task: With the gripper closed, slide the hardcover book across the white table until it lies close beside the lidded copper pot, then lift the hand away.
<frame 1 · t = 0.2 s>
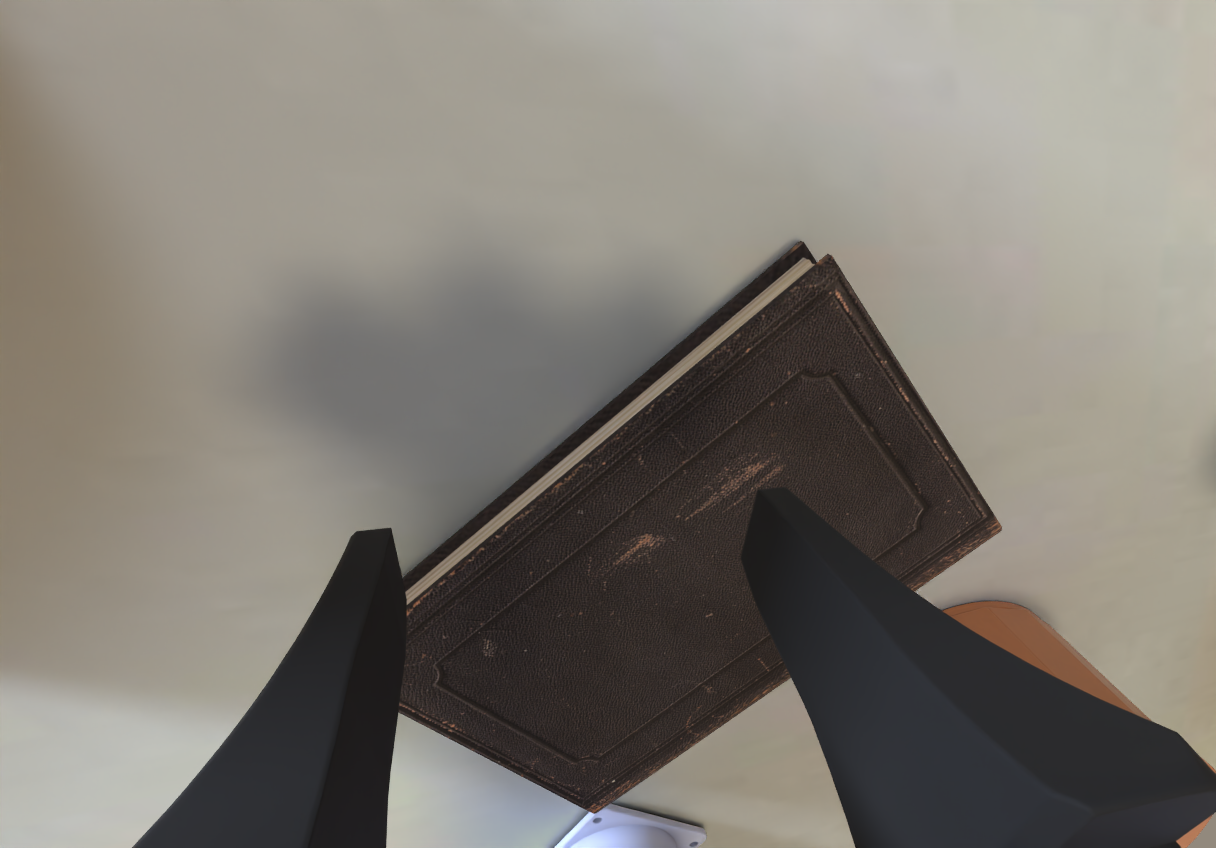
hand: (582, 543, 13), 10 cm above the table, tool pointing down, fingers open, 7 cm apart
pot lid: (1067, 845, 28), point 8 cm above the table, touching pot
hardcover book: (673, 561, 27), on the table
pot: (943, 685, 35), on the table
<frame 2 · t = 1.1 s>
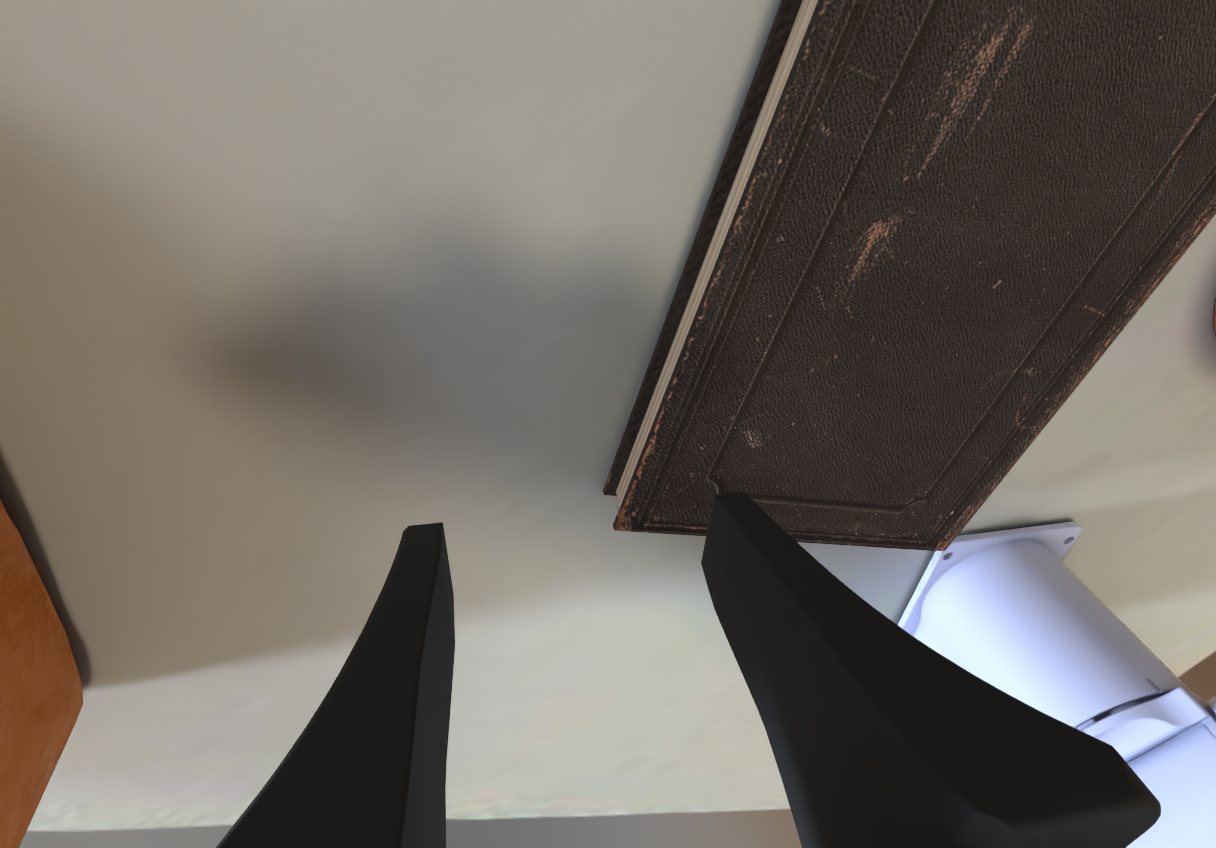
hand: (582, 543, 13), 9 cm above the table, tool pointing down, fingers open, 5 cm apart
hardcover book: (918, 249, 21), on the table
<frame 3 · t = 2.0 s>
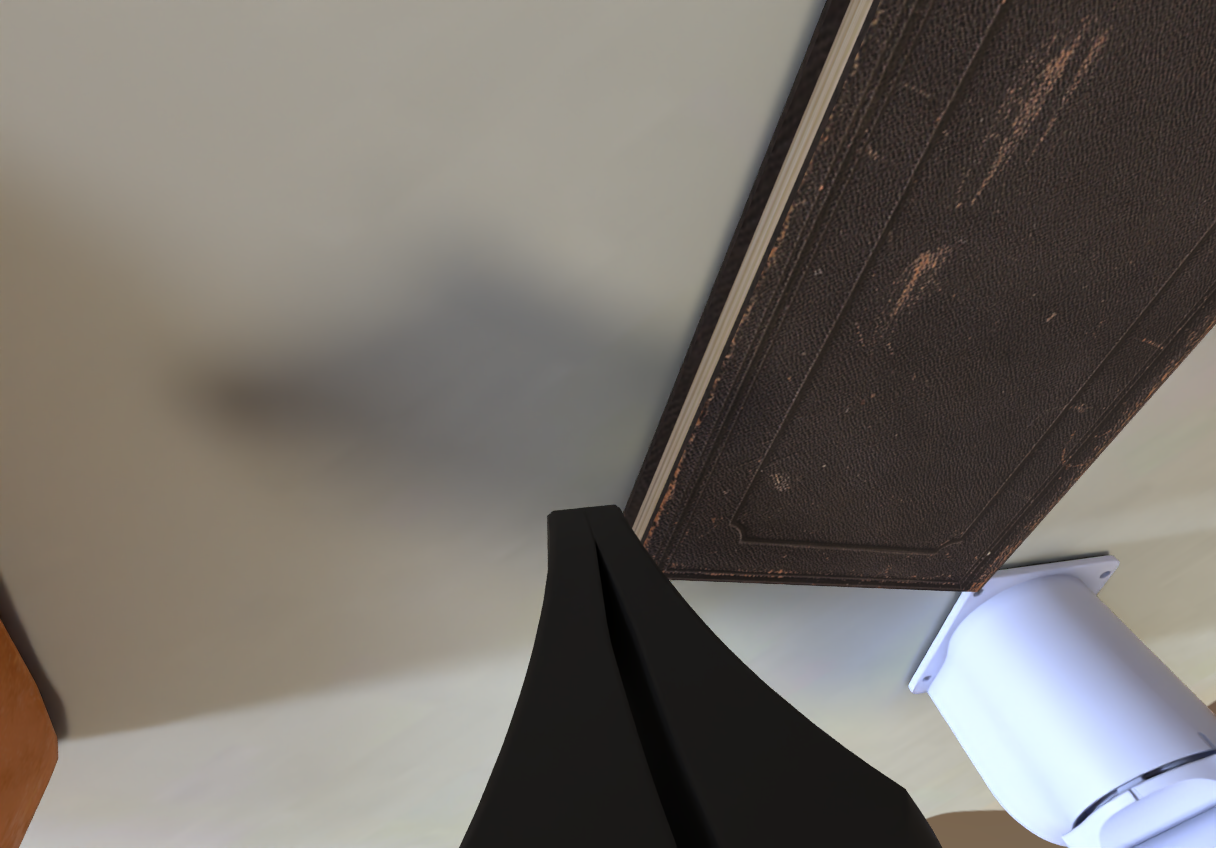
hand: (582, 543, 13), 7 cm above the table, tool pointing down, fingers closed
hardcover book: (961, 276, 20), on the table
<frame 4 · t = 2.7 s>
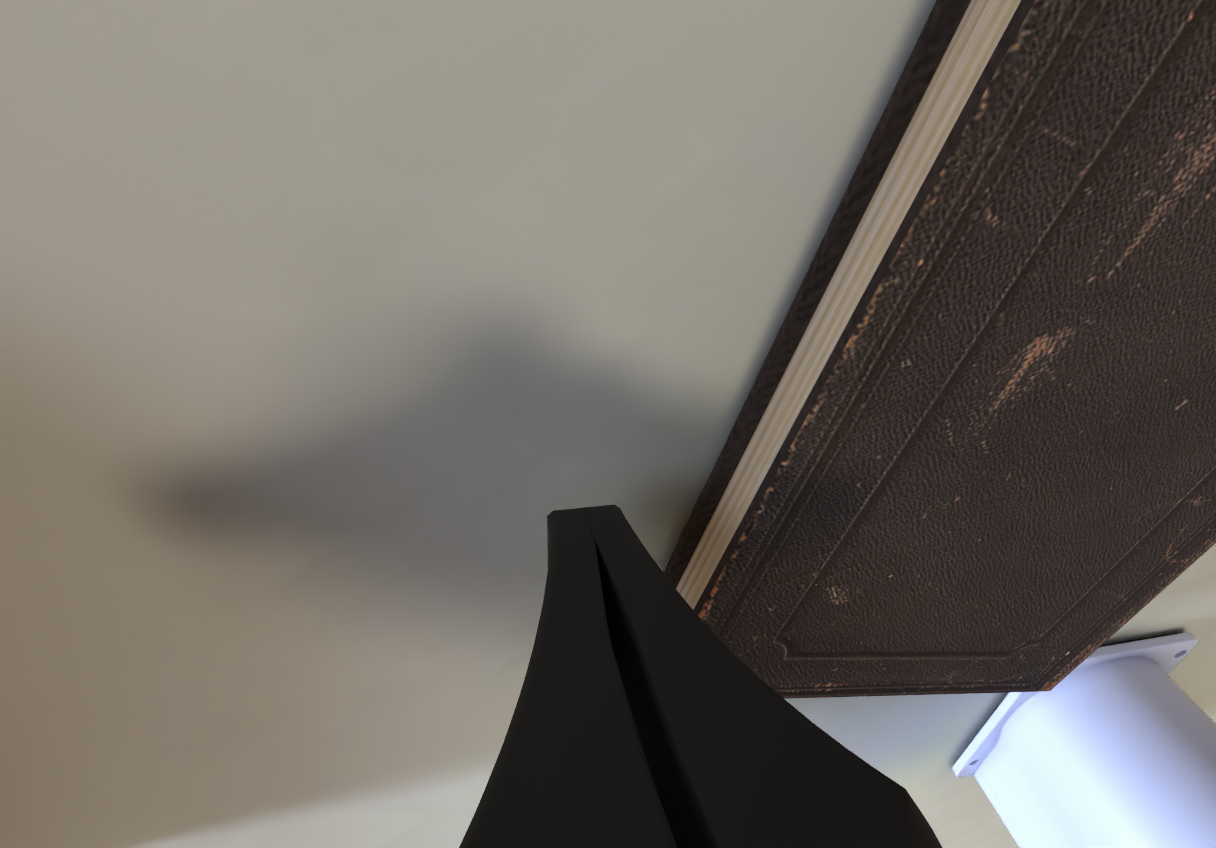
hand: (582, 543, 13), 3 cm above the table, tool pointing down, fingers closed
hardcover book: (1058, 346, 16), on the table
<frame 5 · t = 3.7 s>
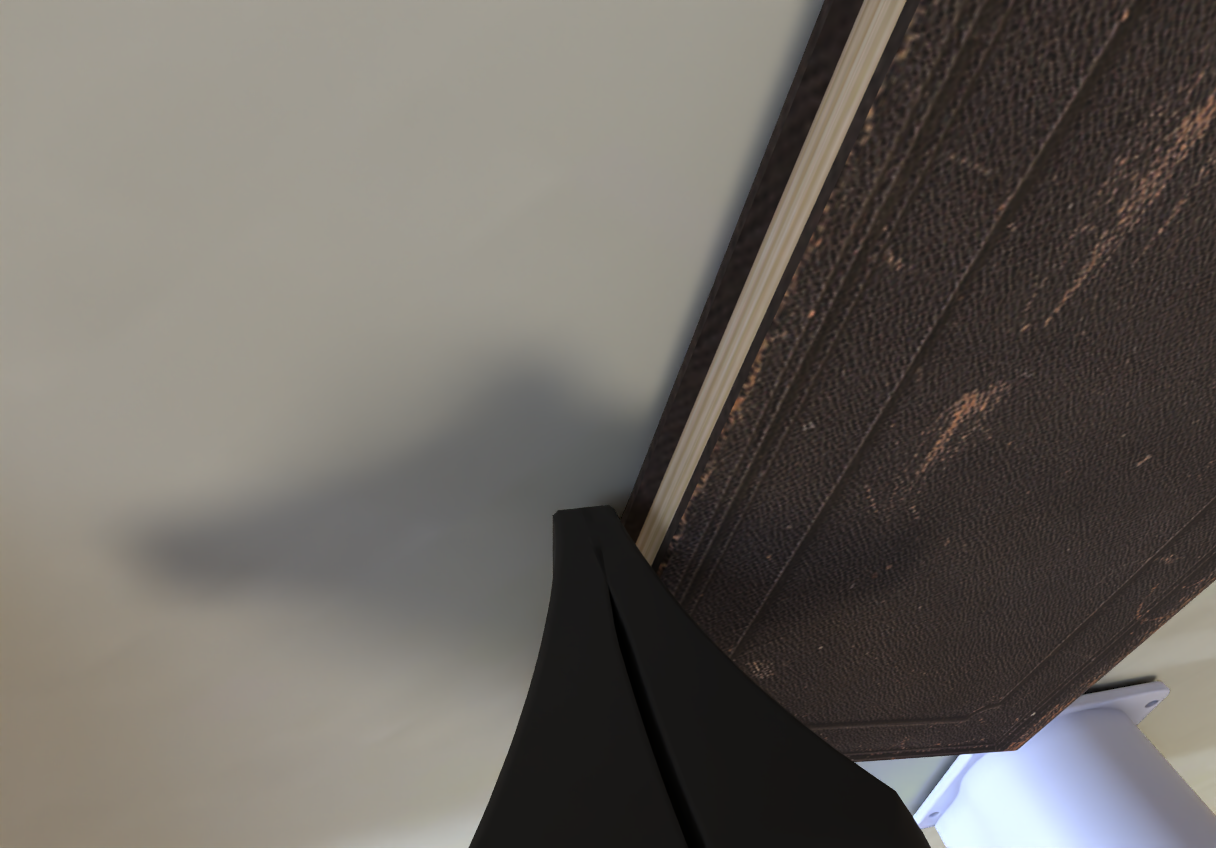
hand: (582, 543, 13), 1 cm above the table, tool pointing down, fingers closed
hardcover book: (1009, 388, 14), on the table, touching gripper
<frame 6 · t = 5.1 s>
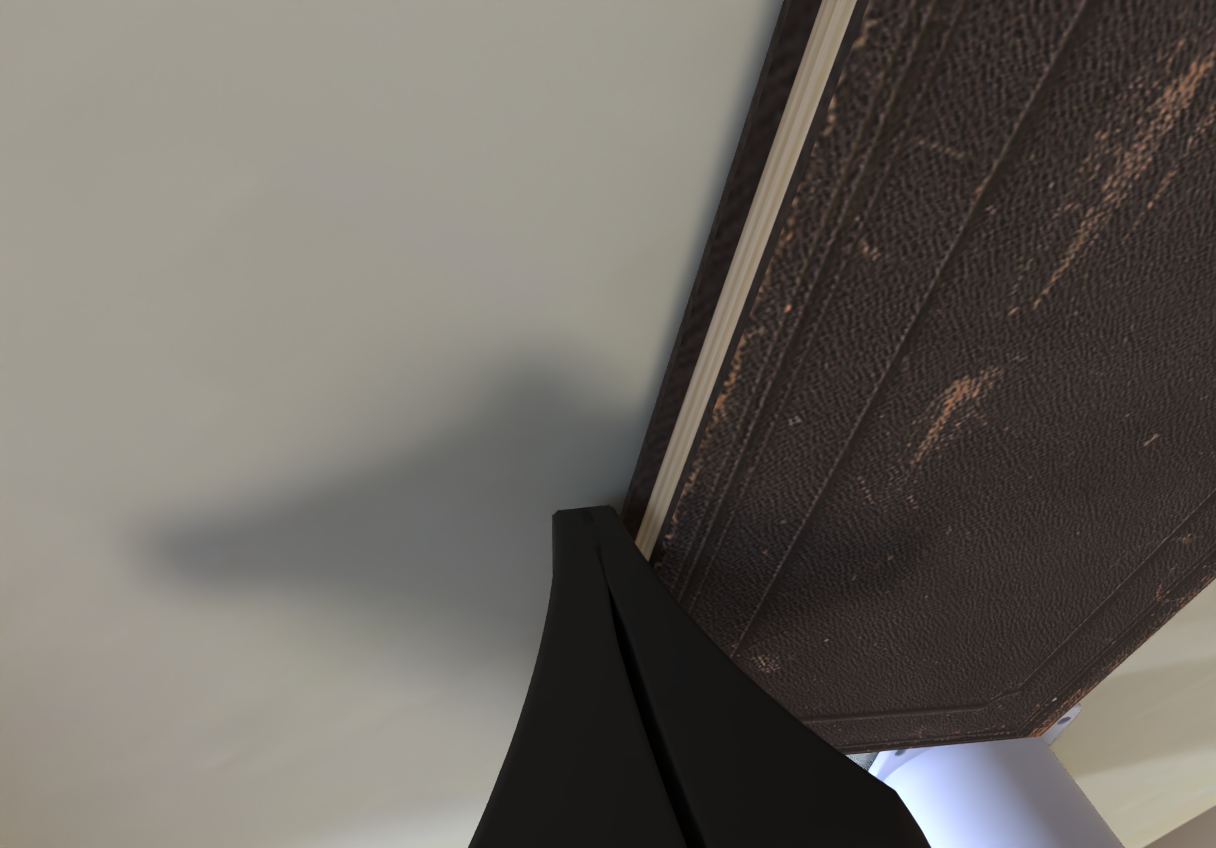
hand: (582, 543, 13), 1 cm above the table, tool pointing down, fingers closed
hardcover book: (1010, 370, 14), on the table, touching gripper
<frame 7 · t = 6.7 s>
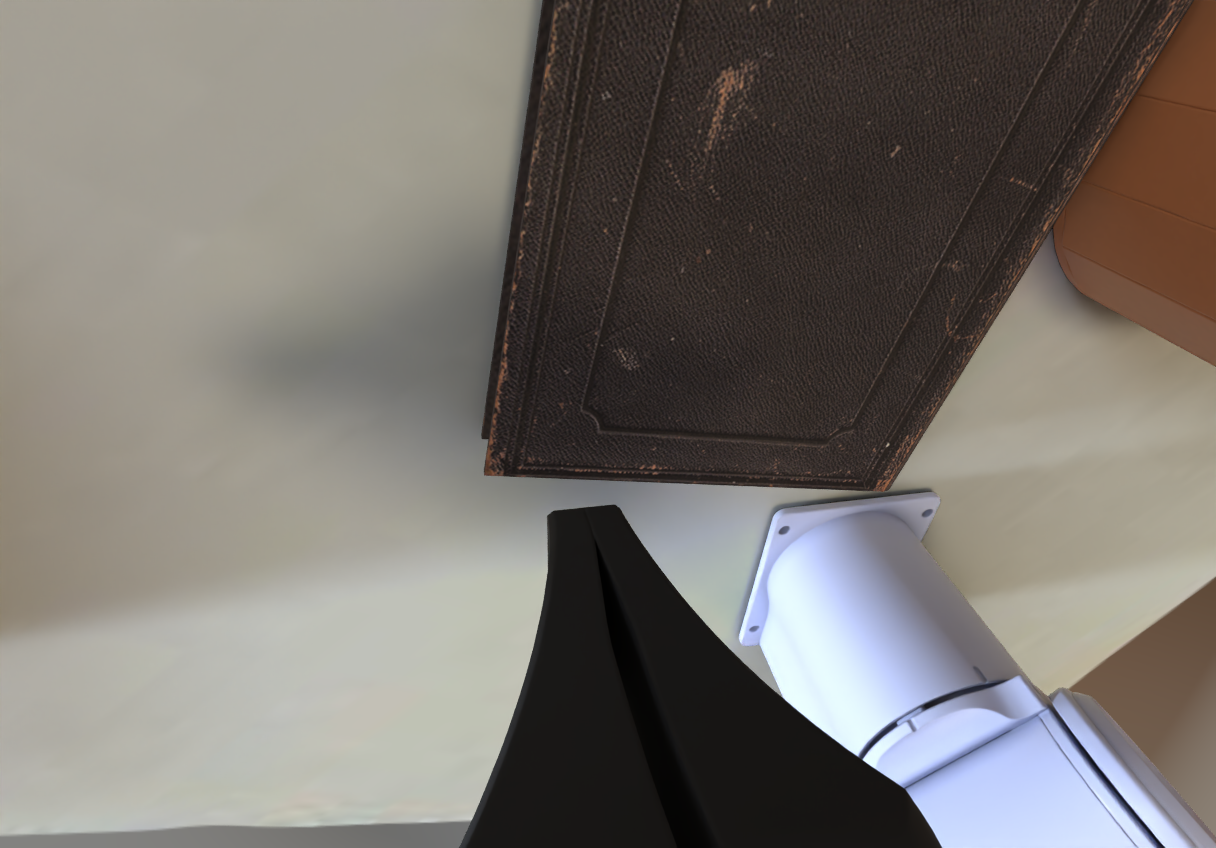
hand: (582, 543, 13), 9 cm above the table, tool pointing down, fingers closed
hardcover book: (810, 124, 18), on the table
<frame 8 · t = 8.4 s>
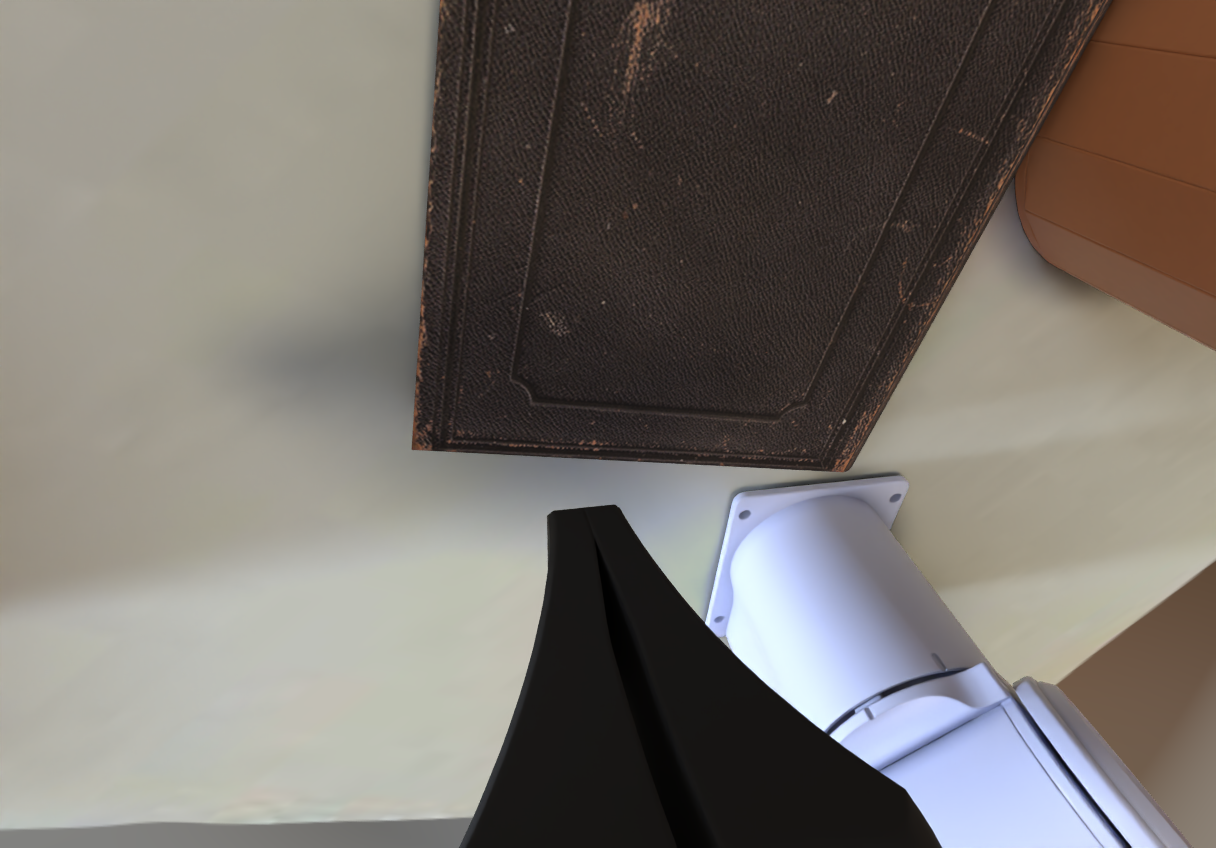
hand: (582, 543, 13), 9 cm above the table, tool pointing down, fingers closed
hardcover book: (748, 74, 17), on the table
pot: (1205, 88, 20), on the table
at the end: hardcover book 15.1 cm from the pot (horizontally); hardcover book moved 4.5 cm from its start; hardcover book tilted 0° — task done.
